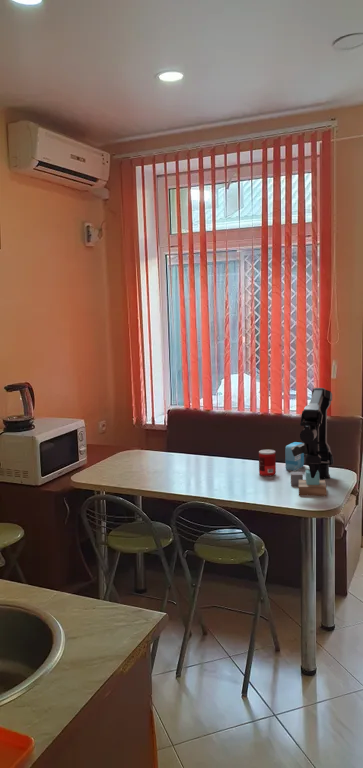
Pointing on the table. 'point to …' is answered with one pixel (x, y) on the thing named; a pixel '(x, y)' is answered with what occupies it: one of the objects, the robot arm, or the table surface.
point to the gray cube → (296, 478)
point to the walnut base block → (312, 488)
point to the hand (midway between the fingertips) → (312, 475)
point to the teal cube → (312, 480)
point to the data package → (293, 458)
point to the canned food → (267, 462)
